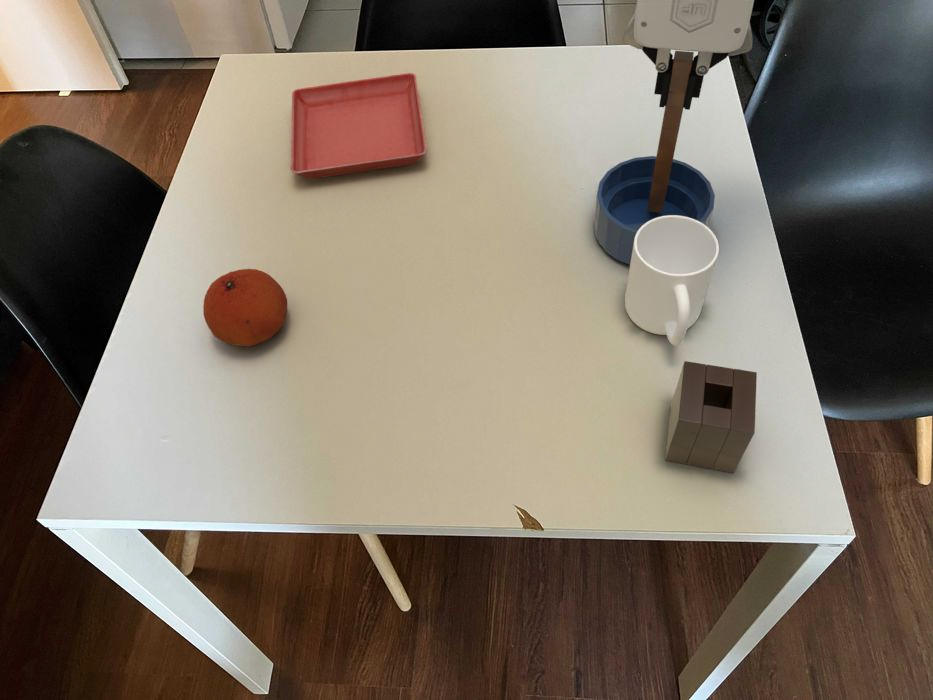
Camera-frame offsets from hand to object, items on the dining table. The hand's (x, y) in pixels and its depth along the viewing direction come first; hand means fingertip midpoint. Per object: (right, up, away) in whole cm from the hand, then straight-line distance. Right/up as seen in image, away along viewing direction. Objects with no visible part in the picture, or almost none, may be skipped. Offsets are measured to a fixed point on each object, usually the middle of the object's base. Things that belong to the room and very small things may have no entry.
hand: (675, 99), depth 74 cm
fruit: (-46, -24, +9) cm, 52 cm away
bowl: (0, -12, +12) cm, 17 cm away
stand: (+1, -35, -4) cm, 35 cm away
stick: (+1, -9, +12) cm, 15 cm away
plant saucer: (-37, +4, +27) cm, 45 cm away
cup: (0, -23, +5) cm, 23 cm away
